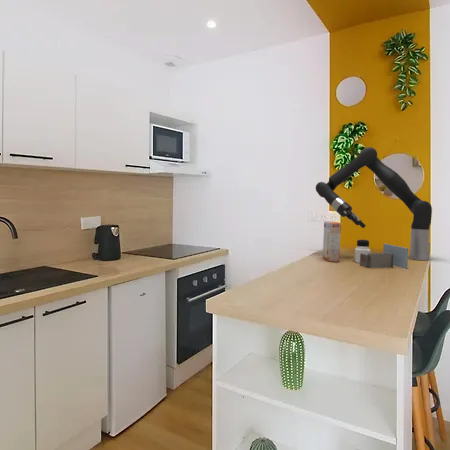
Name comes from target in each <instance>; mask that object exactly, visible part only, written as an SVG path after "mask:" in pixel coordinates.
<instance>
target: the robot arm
mask: <svg viewBox="0 0 450 450" xmlns="http://www.w3.org/2000/svg"><path fill="white" fill-rule="evenodd" d="M363 167H365V168H366V167H367V168H368V169H369V170H370V171H371V172H372V173H373V174H374V175H375V176H376V178H377V179H379V181H380V182H381V183H382V184H383V185H384V186H385V187H386V188H387V189H388V190H389V191H390V192H391V193H392V194H394V196H396V197H397V198H398V199H399V200H400V201H402V202H403V204H404V205H405V206H406V207H407V208H408V210H409V211H410V213H412V214H413V217H412V222H411V225H410V244H409V259H410V260H414V259H415V260H416V261H429V260H430V255H431V254H430V252H431V243H430V226H431V225H432V215H433V208H432V204H431V203H430V202H429V201H426V200H422V199H421V198H419V197H418V196H417V195H416V194H415V193H414V192H413V191H412V190H411V188H410V186H409V185H408V183H407V182H406V181H405V180H404V178H403V177H401V175H400V174H398V173H397V172H396V171H395V170H394V169H392V168H390V167H389V166H388V165H386V164H385V163H384V162H382V161H381V160H380V158H379V157H378V151H377V150H376V148H374V147H369V146H368V147H365V148H364V149H362V150H360V152H359V153H358V155H357V156H355V158H354V159H353V160H352V161H350V162H349V163H347V164H346V165H344V166H343V167H341V168H340V169H339V170H337V171H336V172H335V173H333V174H332V175H330V177H329V178H328V182H324V181H320V182H317V184H316V185H315V191H316V193H317V194H318V196H319V197H321V198H324V200H325V201H326V202H327V204H329V205H330V206H331V207H332V209H333V210H334V211H335V212H336V213H337V214H338V215H340V217H341V218H345V217H346V219H348V220H349V221H351V222H352V223H353V224H355V225H356V226H360V228H362V229H365V228H366V224H365V223H364V222H363V221H362V219H360V218H359V216H357V215H356V213H355V212H353V211H352V210H353V207H352V206H351V205H350V203H348V202H347V201H346V200H344V199H343V198H342V197H341V196H340V195H339V194H337V193H336V192H335V190H336V188H337V187H338V186H340V185H342V183H344V182H346V180H348V179H349V178H350V177H351V176H353V175H354V174H355V173H356V172H357V171H359V170H360V169H362V168H363Z"/></svg>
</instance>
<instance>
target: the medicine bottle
mask: <svg viewBox="0 0 450 450" xmlns="http://www.w3.org/2000/svg"><path fill="white" fill-rule="evenodd" d="M360 254H366V255H368V254H372V251H371V249H370V241H369V240H368V239H357V241H356V247H355V248H354V259H353V261H354V262H355V263H356V264H360Z"/></svg>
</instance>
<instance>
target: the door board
mask: <svg viewBox="0 0 450 450" xmlns="http://www.w3.org/2000/svg"><path fill="white" fill-rule="evenodd" d="M382 249H383V251H382V253H393V254H394V257H393V267H394V266H395V267H398V268H401V269H404V270H408V263H409V262H408V260H409V259H408V258H409V248H407V247H405V246H404V247H403V246H399V245H398V246H397V245H392V244H389V243H383V248H382Z"/></svg>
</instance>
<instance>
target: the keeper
mask: <svg viewBox="0 0 450 450" xmlns="http://www.w3.org/2000/svg"><path fill="white" fill-rule="evenodd" d="M393 257H394V254H393V253H383V252H382V253H379V252H378V253H372V252H371V254H368V255H366V254H360V263H359V266H361V267H363V268H367V269H385V268H387V269H389V268H390V269H391V268H394V265H393Z"/></svg>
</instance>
